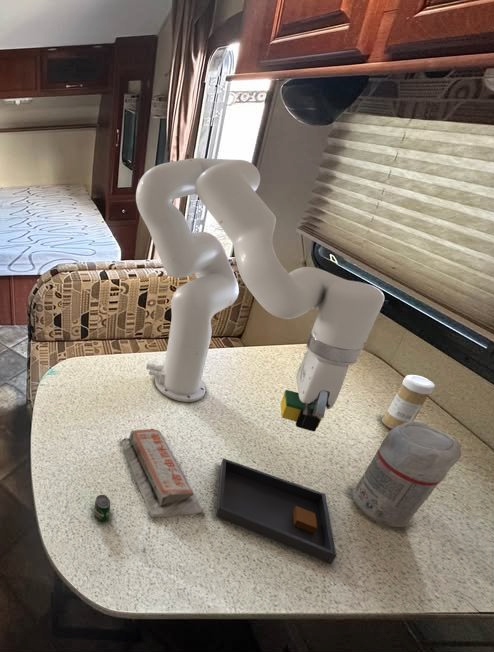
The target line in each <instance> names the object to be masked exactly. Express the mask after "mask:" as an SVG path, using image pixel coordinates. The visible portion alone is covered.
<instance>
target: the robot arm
mask: <svg viewBox="0 0 494 652" xmlns="http://www.w3.org/2000/svg"><path fill="white" fill-rule="evenodd" d="M260 182H261V174H260V171H259V169H258V168H257V167H256V166H255V165H254V164H253V163H252V162H250V161H249V160H245V159H226V158H224V159H221V158H206V157H205V158H203V157H193V158H186V159H180V160H175V161H169V162H164V163H161V164H158V165H155V166H153V167H151V168H149V169H148V170H147V171H146V172H144V173H143V175H142V176H141V178H140V179H139V181H138V183H137V187H136V191H135V203H136V206H137V210H138V212H139V214H140V217H141V218H142V220H143V222H144V224H145V225H146V228H147V229H148V231H149V235H150V237H151V239H152V242H153V244H154V247H155V250H156V252H157V254H158V257H159V259H160V262H161V264H162V266H163V269H164V271H165V272H166V274H167V275H168V276H169V277H172V278H173V279H184V278H186V277H190V276H191V275H194V276H195V278H194V279H192V280H190V281H188V282H185V283H184V284H182V285H181V286H178V288H177V289H176V290H175V291H174V293H173V294H172V296H171V299H170V300H171V301H170V308H171V321H170V329H169V334H168V340H167V347H166V352H165V358H164V362H163V364H155V363H151V362H147V363H146V367H145V369H146V370H149V371H148V375H149V376H153V377H155V379H154V384H155V387H157V390H159V391H160V392H161V393H162V394H163V395H164V396H166V397H168V398H170V399H172V400H175V401H178V402H184V403H189V402H197V401H199V400H201V399H202V398H203V397H204V396H205V392H206V385H205V383H204V381H203V380H202V378H203V374H204V370H205V365H206V361H207V357H208V353H209V349H210V344H211V341H212V335H213V329H212V323H211V322H212V318H213V317H214V316H215V315H217V314H218V313H220V312H221V311H223V310H225V309H226V308H229V307H230V306H231V305H233V304H234V303H235V302H236V301H237V299H238V297H239V293H240V289H239V288H240V287H239V283H238V279H237V277H236V274H235V273H234V269H233V268H232V265H231V263H230V260H229V258H228V255H227V253H226V250H225V249H224V246H223V244H222V242H220V240H219V239H218V238H217V237H216V236H215V235H214V234H212V233H210V232H207V231H196V232H192V231H191V230H190V227H189V225H188V222H187V219H186V217H185V216H184V214H183V212H182V211H181V210H179V208H178V207H177V206H175V204H174V203H173V202H174V200H176V199H181V198H185V197H188V196H193V195H196V196H197V197H198V199H199V200H200V202H201V203H202V204H203V206H204V207H205V208H206V209H207V211H208V212H209V213H210V215H211V216H212V218H213V219H214V220H215V222H217V224H218V226H219V227H220V228H221V230H223V232H224V233H225V234H226V236H227V237H228V238H229V240H230V241H231V243H232V245H233V253H234V254H233V255H234V259H235V262H236V266H237V270H238V273H239V275H240V278H241V280H242V282H243V284H244V285H245V287H246V288H247V290H248V291H249V292H250V293H251V295H252V296H253V297H254V298H255V300H256V301H257V302H258V303H259V305H260V306H261V307H262V308H263V309H264V311H266V312H267V313H269V314H270V315H272V316H274V317H276V318H279V319H283V320H290V319H291V320H292V319H297V318H299V317H302V316H304V315H305V314H306V313H308V312H310V311H311V310H313V309H316V310H317V311H318V312H317V315H316V318H315V320H314V323H313V327H312V329H311V331H310V335H309V337H308V340H307V343H306V346H305V349H306V351H305V354H304V356H303V358H302V361H301V362H300V365H299V367H298V370H297V372H296V377H295V380H296V387H297V393H298V394H299V398H300V400H301V401H302V402H303V403H305V406H304V409H303V410H301V411H300V414H299V416H298V419H297V421H296V422H295V426H296V428H300V429H302V430H307V431H309V432H316V431H317V429H318V428H317V426H318V424H319V421H320V419H321V418H322V419H324V418H325V414H326V409H327V410H330V409H332V408H333V407H334V405H335V404H336V402H337V400H338V397H339V395H340V392H341V390H342V388H343V385H344V382H345V379H346V377H347V373H348V370H349V367H350V366H352V365H355V364H356V363H358V360H359V357H360V356H361V353H362V352H363V349H364V347H365V344H366V342H367V341H368V339H369V336H370V333H371V331H372V329H373V327H374V325H375V323H376V320H377V318H378V316H379V314H380V312H381V309H382V307H383V305H384V302H385V295H384V293H383V291H382V290H381V289H379V288H378V287H376V286H374V285H371V284H368V283H366V282H361V281H355V280H348V279H345V278H343V277H340V276H337V275H335V274H333V273H331V272H329V271H326V270H324V269H321V268H319V267H315V266H303V267H298V268H295V269H293V270H292V271H290V272H288V271H287V270H286V268H285V267H284V266H283V264H282V263H281V262H280V260H279V259H278V257H277V254H276V252H275V249H274V245H273V244H274V243H273V238H274V233H275V228H276V224H277V218H276V214H274V212H273V211H272V210H271V209H270V208H269V207H268V206H267V204H266V203H265V202H264V201H263V199H262V198H261V197H260V196H259V194H258V193H257V192H256V191H257V190H258V189H259V186H260ZM315 399H317V400H315ZM310 404H312V405H316V406H315V409H312V408H310V409H309V407H310ZM322 419H321V420H322ZM320 422H321V421H320ZM319 425H320V424H319ZM318 427H319V426H318Z"/></svg>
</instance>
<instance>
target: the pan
mask: <svg viewBox="0 0 494 652" xmlns="http://www.w3.org/2000/svg"><path fill="white" fill-rule="evenodd" d="M216 500H217V501H216V512H215V516H216V518H219V519H221V520H223V521H226V522H229V523H231V524H232V525H235V526H238V527H239V528H243V529H245V530H248V531H250V532H252V533H255V534H257V535H260V536H262V537H264V538H267V539H269V540H272V541H273V542H276V543H279V544H281V545H284V546H286V547H288V548H291V549H293V550H296V551H298V552H300V553H303V554H305V555H306V556H310V557H312V558H315V559H317V560H319V561H321V562H324V563H327V564H329V565H332V564H333V562H334V560H335V559H336V557H337V552H336V547H335V546H336V545H335V541H334V535H333V530H332V524H331V518H330V513H329V512H330V511H329V506H328V501H327V496H326V493H323V492H321V491H318V490H315V489H312V488H309V487H308V486H307V487H306V486H304V485H301V484H298V483H295V482H293V481H290V480H287V479H284V478H281V477H278V476H275V475H273V474H270V473H266V472H263V471H261V470H259V469H255V468H253V467H250V466H246V465H244V464H241V463H239V462H235V461H233V460H229V459H227V458H224V457H223V458H222V460H221V462H220V466H219V477H218V489H217V499H216ZM295 506H297V507H299V508H302V509H305V510H307V511H310V512H313V513H315V514H316V522H317V529H316V531H315V533H314V534H313V533H310V532H308V531H305V530H303V529H300V528H298V527H296V526H294V521H293V510H294V508H295Z"/></svg>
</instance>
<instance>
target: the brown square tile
mask: <svg viewBox="0 0 494 652" xmlns="http://www.w3.org/2000/svg"><path fill="white" fill-rule="evenodd" d="M293 521H294V526H296V527H298V528H300V529H303V530H305V531H308V532H310V533H313V534H314V533H315V531H316V529H317V522H316V514H315V513H313V512H310V511H307V510H305V509H302V508H299V507H297V506H295V508H294V510H293Z"/></svg>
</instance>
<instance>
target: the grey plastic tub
mask: <svg viewBox="0 0 494 652" xmlns="http://www.w3.org/2000/svg"><path fill="white" fill-rule="evenodd" d="M461 457H462V445H461V443H460V442H459V441H457V440H456V439H454V438H453V437H451V436H450V435H448V434H447V433H446V432H445V431H443V430H440V429H437V428H435V427H433V426H431V425H429V424H428V423H425V422H424V421H416V420H413V421H409V422H407V423H403V424H401V425H398V426H396V427H394V428H393V429H391V430H390V431H389V432H388V433H387V434H386V435H385V437H384V438H383V440H382V441H381V443H380V446H379V448H378V449H377V451H376V452H375V455H374V456H373V458H372V459H371V462H370V464H368V467H367V468H366V469H365V471H364V473H363V475H362V476H361V477H360V479H359V480H358V482H357V484H356V486H355V487H354V488H353V489H352V490H351V491H352V492H351V495H352V498H353V500H354V502H355V503H356V505H357V506H358V508H359V509H361V511H362V512H363V513H364V514H366V515H367V516H368V517H370V518H371V519H372V520H375V521H377V522H378V523H381V524H383V525H386V526H391V527H396V528H402V527H404V528H405V527H407V526H410V524H411V520H412V519H413V517H414V516H415V515H416V513H417V512H418V511H419V509H420V508H421V507H422V505H424V503H425V502H426V501H427V499H428V498H429V497H430V496H431V495H432V494H433V492H434V490H435V488H436V487H437V486H438V485H439V484H440V483H441V482H442V481H444V480H445V478H447V475H448V473H449V471H450V470H451V469H452V468H453V466H454V465H455V464H457V463H458V461H459V459H461Z"/></svg>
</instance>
